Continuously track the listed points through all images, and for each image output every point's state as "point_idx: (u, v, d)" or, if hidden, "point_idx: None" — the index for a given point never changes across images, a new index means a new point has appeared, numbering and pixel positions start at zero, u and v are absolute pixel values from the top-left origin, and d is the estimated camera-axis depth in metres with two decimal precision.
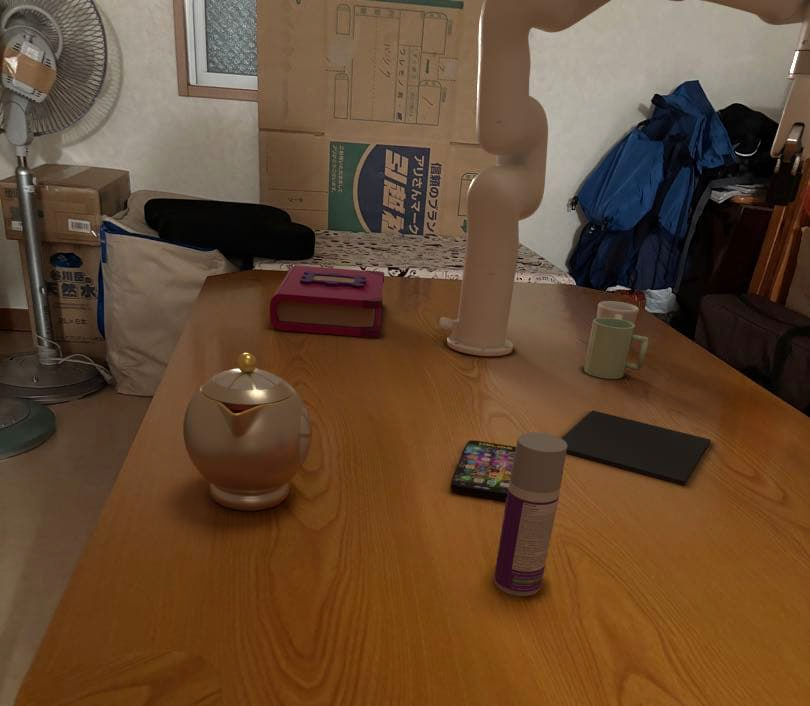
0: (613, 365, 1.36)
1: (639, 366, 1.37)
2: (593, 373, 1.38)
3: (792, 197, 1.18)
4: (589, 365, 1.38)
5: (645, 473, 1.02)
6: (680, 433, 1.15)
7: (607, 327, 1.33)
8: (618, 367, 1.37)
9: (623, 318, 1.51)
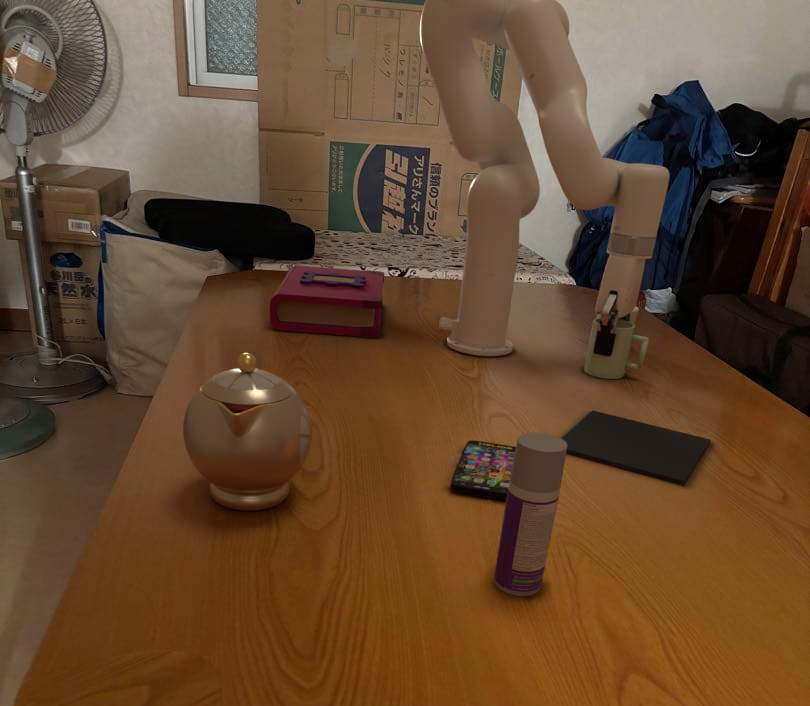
0: (613, 365, 1.36)
1: (639, 366, 1.37)
2: (593, 373, 1.38)
3: None
4: (589, 365, 1.38)
5: (645, 473, 1.02)
6: (680, 433, 1.15)
7: None
8: (618, 367, 1.37)
9: None
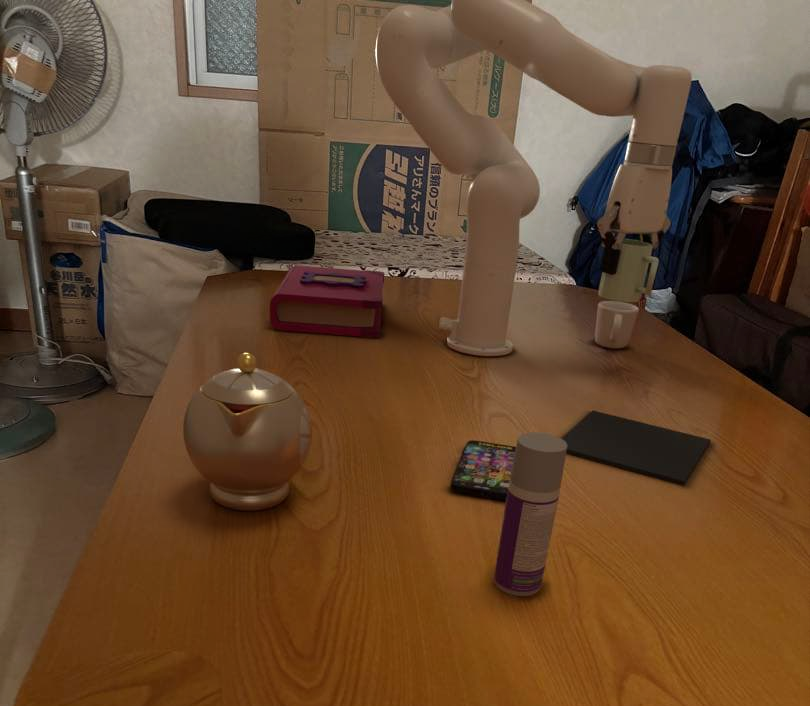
0: (619, 286, 1.30)
1: (647, 290, 1.28)
2: (601, 293, 1.33)
3: None
4: None
5: (645, 473, 1.02)
6: (680, 433, 1.15)
7: None
8: (625, 289, 1.30)
9: (623, 318, 1.51)
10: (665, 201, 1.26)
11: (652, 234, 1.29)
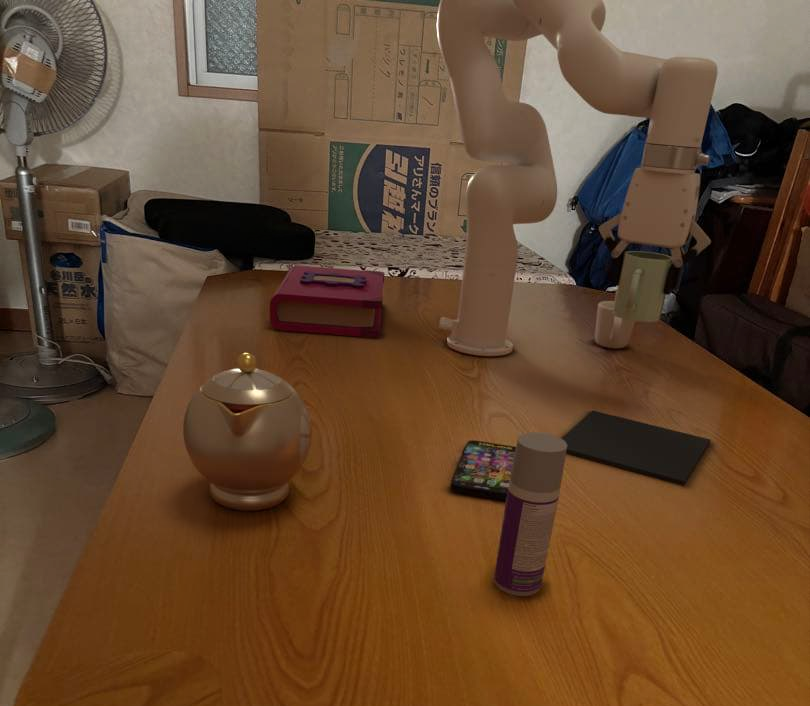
0: (617, 299, 1.18)
1: (627, 306, 1.14)
2: None
3: None
4: None
5: (645, 473, 1.02)
6: (680, 433, 1.15)
7: (625, 253, 1.17)
8: (620, 303, 1.18)
9: None
10: (681, 211, 1.09)
11: (671, 249, 1.13)
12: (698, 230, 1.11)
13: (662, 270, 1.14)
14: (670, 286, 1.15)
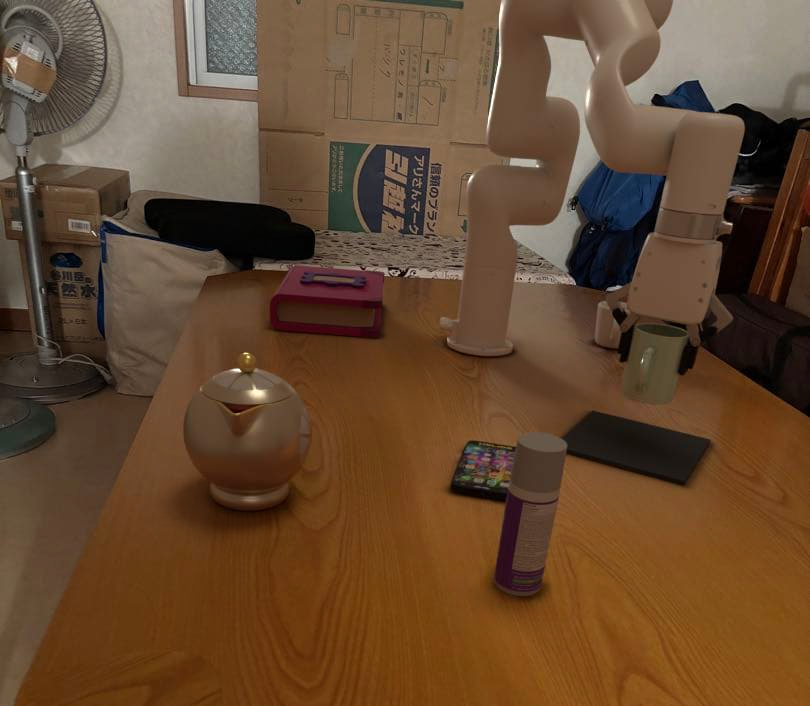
0: (625, 377, 1.05)
1: (636, 388, 1.01)
2: None
3: (679, 369, 1.02)
4: None
5: (645, 473, 1.02)
6: (680, 433, 1.15)
7: (635, 326, 1.04)
8: (628, 382, 1.04)
9: None
10: (699, 285, 0.96)
11: (687, 326, 0.99)
12: (719, 306, 0.97)
13: (677, 349, 1.00)
14: (685, 366, 1.01)
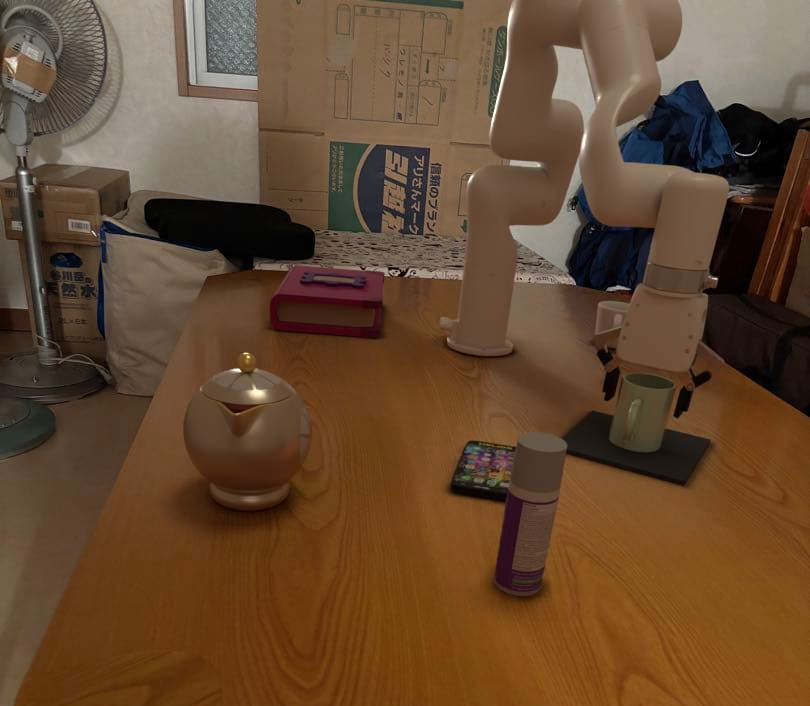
0: (614, 425, 1.08)
1: None
2: None
3: (674, 412, 1.04)
4: None
5: (645, 473, 1.02)
6: (680, 433, 1.15)
7: (623, 376, 1.07)
8: (617, 430, 1.08)
9: (623, 318, 1.51)
10: (686, 337, 0.99)
11: (679, 373, 1.02)
12: (708, 352, 1.00)
13: (663, 400, 1.03)
14: (680, 409, 1.04)
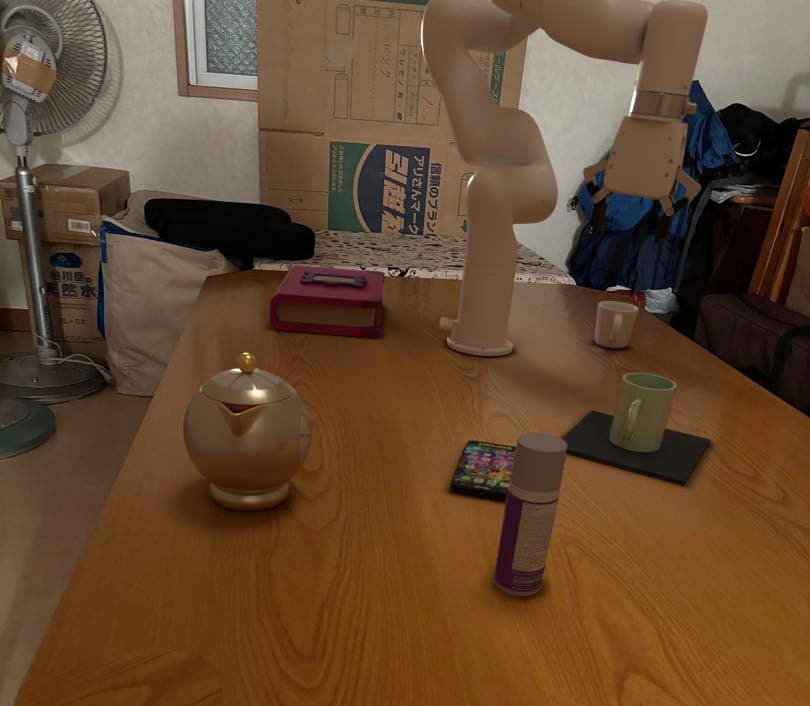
0: (614, 425, 1.08)
1: None
2: None
3: (655, 238, 1.14)
4: None
5: (645, 473, 1.02)
6: (680, 433, 1.15)
7: (623, 376, 1.07)
8: (617, 430, 1.08)
9: (623, 318, 1.51)
10: (666, 161, 1.08)
11: (660, 199, 1.11)
12: (686, 177, 1.09)
13: (663, 400, 1.03)
14: (660, 235, 1.14)
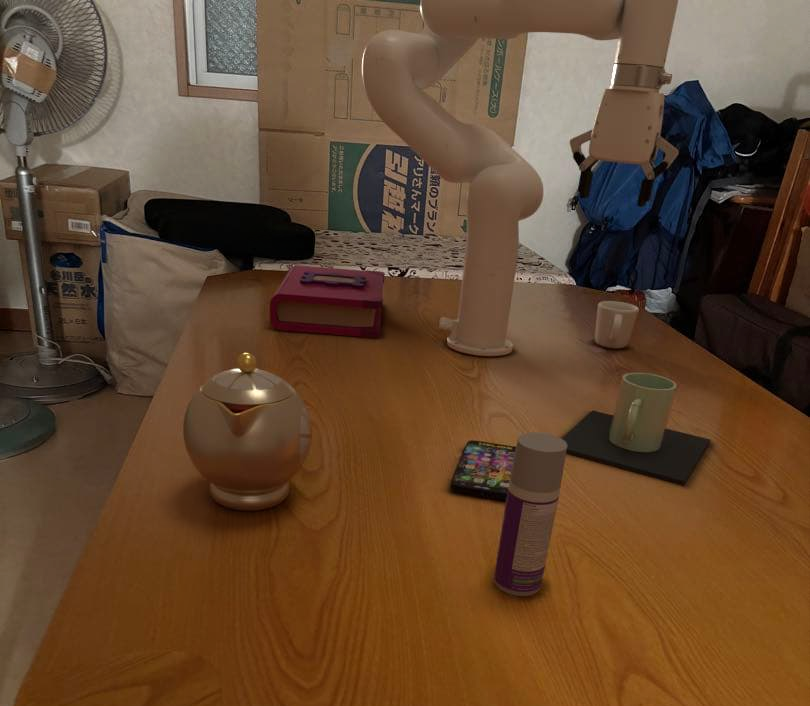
0: (614, 425, 1.08)
1: None
2: None
3: (638, 201, 1.23)
4: None
5: (645, 473, 1.02)
6: (680, 433, 1.15)
7: (623, 376, 1.07)
8: (617, 430, 1.08)
9: (623, 318, 1.51)
10: (645, 128, 1.18)
11: (641, 164, 1.21)
12: (664, 143, 1.19)
13: (663, 400, 1.03)
14: (643, 198, 1.23)
